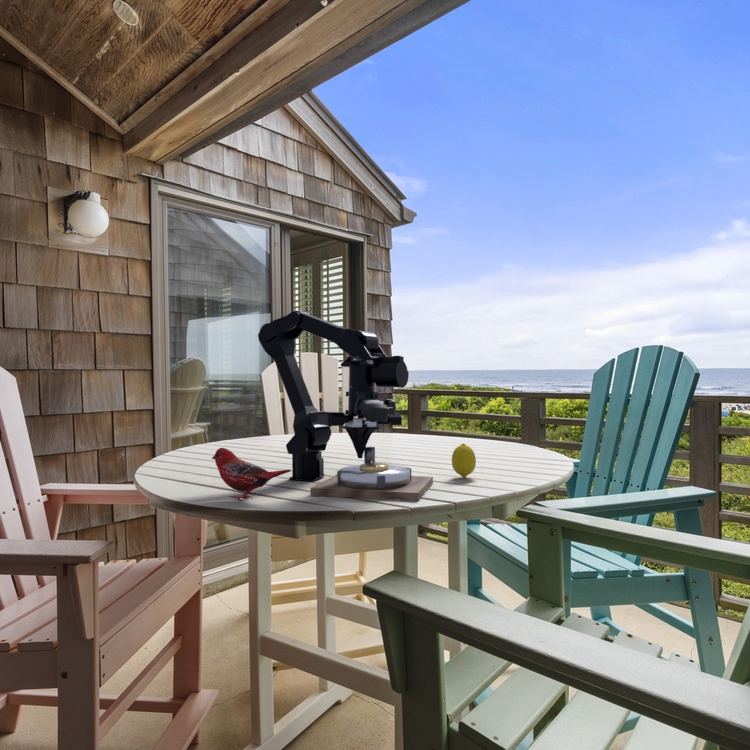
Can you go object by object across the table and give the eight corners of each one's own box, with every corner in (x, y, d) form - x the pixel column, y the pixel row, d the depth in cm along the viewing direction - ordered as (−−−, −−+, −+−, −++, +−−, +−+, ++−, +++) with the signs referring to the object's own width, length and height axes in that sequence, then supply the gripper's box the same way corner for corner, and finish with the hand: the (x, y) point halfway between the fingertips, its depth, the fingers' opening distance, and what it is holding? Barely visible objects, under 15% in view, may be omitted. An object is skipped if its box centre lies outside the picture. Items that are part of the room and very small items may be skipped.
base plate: (310, 495, 102) (310, 488, 102) (339, 479, 118) (338, 473, 118) (418, 500, 96) (418, 493, 96) (432, 483, 112) (432, 476, 113)
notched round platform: (420, 487, 101) (419, 454, 101) (341, 491, 98) (341, 457, 98) (402, 473, 116) (401, 445, 116) (334, 476, 114) (333, 447, 114)
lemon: (474, 475, 121) (474, 442, 121) (477, 480, 116) (476, 445, 116) (451, 475, 122) (450, 442, 122) (452, 480, 116) (452, 445, 116)
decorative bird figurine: (216, 495, 103) (215, 446, 103) (295, 501, 97) (294, 448, 98) (207, 499, 100) (206, 448, 100) (288, 504, 95) (287, 450, 95)
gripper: (341, 385, 101) (339, 464, 100) (417, 388, 111) (416, 460, 110) (317, 386, 111) (315, 458, 110) (388, 388, 120) (387, 455, 120)
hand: (360, 458), depth 112 cm, fingers closed
